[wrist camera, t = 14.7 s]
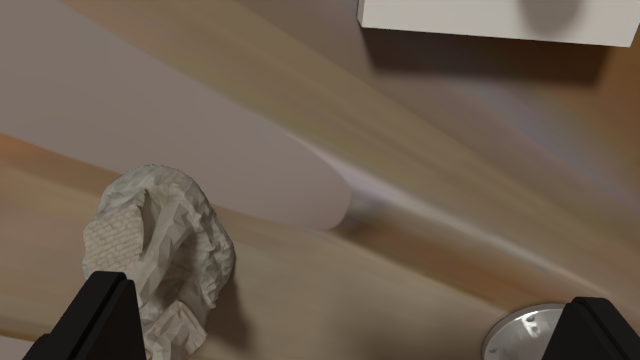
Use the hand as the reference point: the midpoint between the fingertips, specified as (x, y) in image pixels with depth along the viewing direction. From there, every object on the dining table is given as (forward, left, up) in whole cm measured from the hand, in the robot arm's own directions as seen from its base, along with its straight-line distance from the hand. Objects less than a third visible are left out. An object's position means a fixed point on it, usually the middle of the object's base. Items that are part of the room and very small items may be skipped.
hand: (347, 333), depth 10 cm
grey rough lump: (+16, +20, -29) cm, 38 cm away
